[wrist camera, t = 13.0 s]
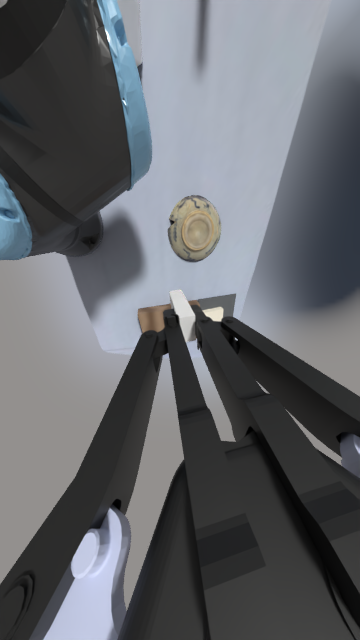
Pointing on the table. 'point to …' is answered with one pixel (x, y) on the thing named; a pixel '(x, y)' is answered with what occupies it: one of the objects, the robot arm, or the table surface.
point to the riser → (155, 316)
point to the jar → (132, 26)
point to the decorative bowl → (194, 228)
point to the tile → (214, 313)
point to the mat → (219, 304)
